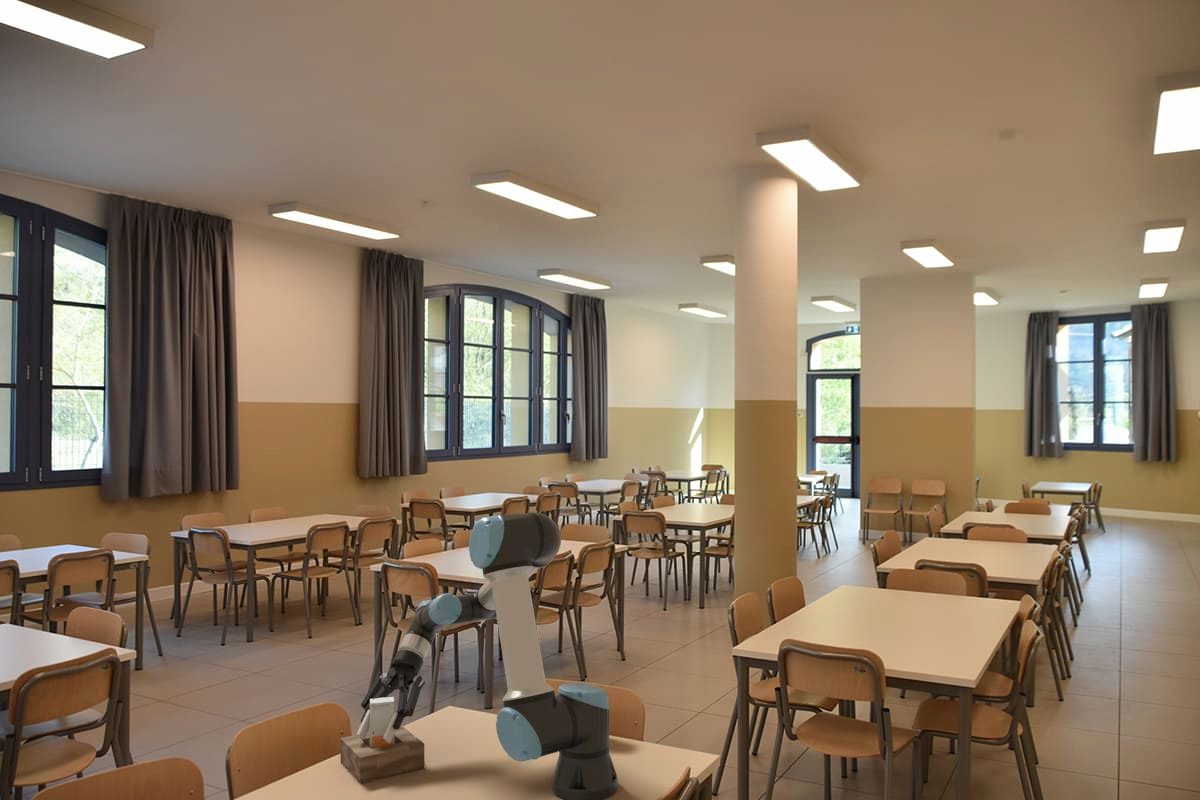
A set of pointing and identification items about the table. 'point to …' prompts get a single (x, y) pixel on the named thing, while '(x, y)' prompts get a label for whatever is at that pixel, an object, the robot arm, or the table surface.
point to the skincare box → (380, 720)
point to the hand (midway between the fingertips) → (373, 738)
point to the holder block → (382, 756)
